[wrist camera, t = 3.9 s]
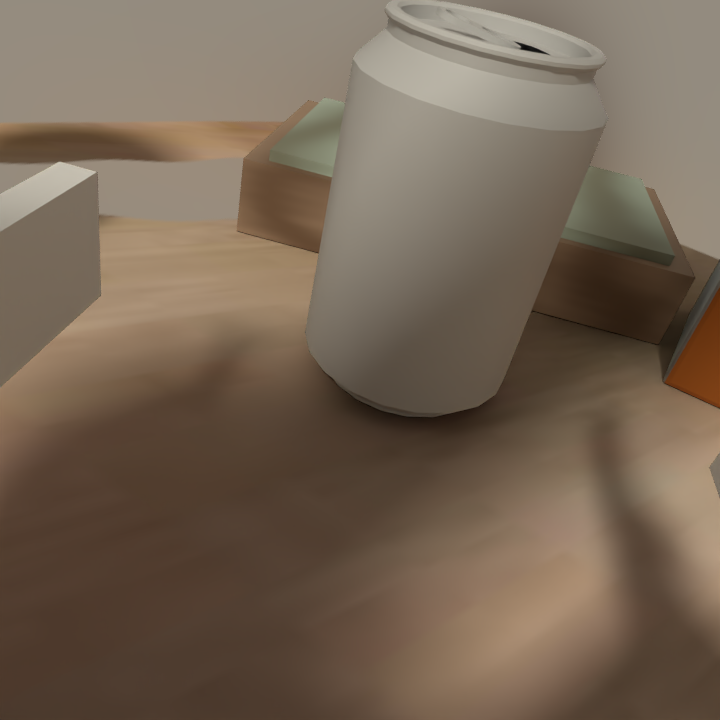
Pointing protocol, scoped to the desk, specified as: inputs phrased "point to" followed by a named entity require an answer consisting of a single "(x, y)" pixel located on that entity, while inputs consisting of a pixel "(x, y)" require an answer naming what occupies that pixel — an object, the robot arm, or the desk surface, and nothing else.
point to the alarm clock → (700, 347)
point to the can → (448, 202)
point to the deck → (569, 263)
